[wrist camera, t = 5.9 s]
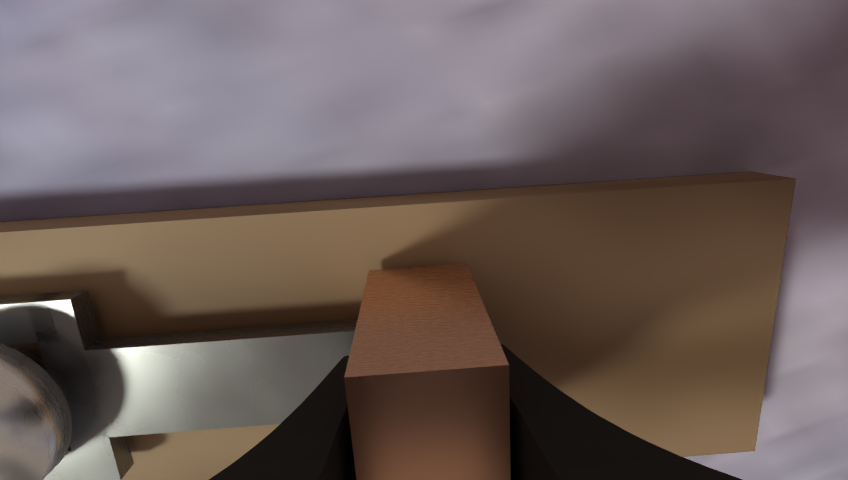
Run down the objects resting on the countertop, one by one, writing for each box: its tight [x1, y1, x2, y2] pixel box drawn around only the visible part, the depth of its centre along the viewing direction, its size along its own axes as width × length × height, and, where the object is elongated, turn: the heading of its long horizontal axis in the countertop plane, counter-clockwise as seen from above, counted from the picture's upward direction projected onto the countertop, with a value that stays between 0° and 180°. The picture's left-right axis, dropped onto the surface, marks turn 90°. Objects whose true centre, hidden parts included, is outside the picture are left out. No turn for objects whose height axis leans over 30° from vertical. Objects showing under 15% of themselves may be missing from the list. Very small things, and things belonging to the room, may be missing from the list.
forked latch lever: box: [0, 263, 511, 480], centre depth 10 cm, size 5×16×5 cm, turn 93°
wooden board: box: [0, 172, 796, 480], centre depth 13 cm, size 8×22×2 cm, turn 94°
